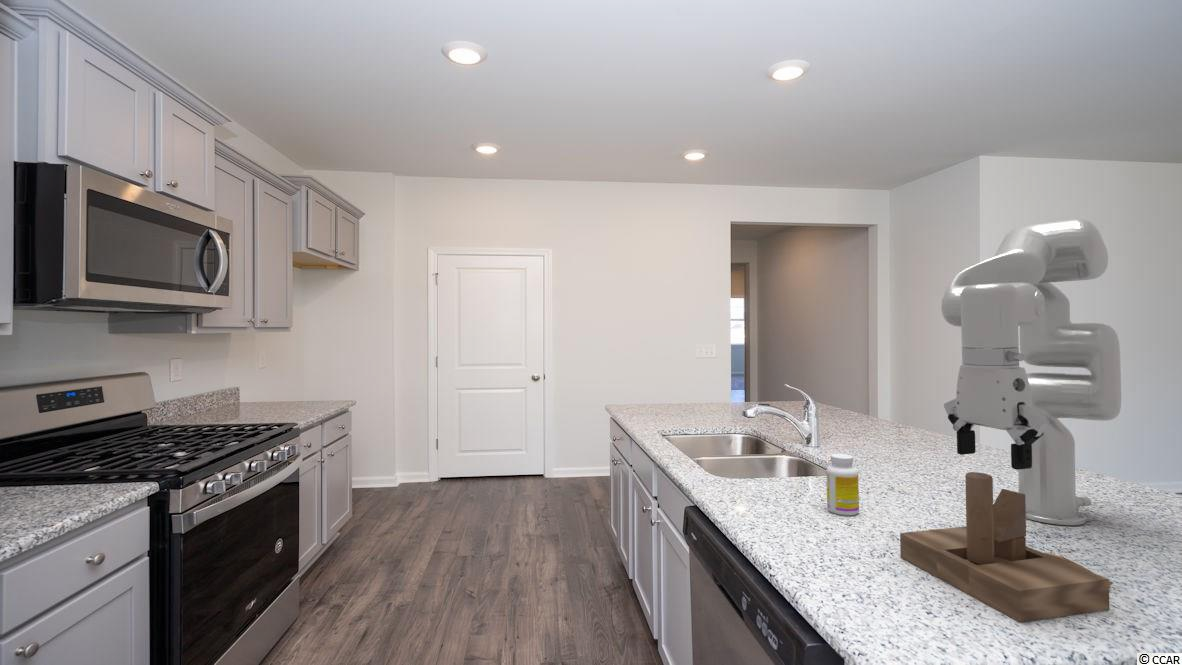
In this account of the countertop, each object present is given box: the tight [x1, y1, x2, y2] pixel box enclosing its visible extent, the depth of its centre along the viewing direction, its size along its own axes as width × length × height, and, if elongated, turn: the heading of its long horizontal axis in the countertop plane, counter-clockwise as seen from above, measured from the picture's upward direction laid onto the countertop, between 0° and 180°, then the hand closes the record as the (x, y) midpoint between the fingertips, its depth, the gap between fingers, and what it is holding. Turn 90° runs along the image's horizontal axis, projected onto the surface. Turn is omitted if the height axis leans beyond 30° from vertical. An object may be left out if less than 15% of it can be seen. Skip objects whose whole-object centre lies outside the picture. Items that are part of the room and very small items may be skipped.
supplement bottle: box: [825, 453, 860, 517], centre depth 120 cm, size 7×7×13 cm
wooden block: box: [965, 471, 1027, 565], centre depth 86 cm, size 4×11×18 cm, turn 111°
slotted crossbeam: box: [899, 526, 1111, 623], centre depth 86 cm, size 16×22×4 cm
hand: (992, 460), depth 87 cm, fingers open, 9 cm apart
